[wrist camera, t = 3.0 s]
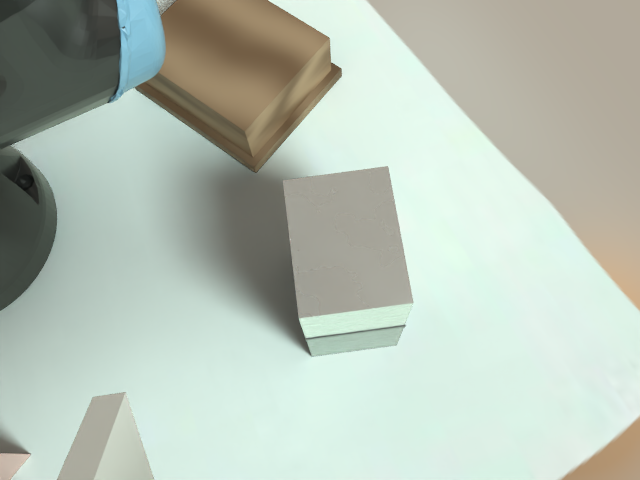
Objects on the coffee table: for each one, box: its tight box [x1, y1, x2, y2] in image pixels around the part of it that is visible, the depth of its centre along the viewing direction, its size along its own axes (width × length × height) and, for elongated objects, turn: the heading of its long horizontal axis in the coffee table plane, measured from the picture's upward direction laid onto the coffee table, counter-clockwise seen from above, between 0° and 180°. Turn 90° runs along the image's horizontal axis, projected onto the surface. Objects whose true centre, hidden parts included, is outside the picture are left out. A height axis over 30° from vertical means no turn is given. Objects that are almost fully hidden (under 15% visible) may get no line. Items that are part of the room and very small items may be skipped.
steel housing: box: [283, 166, 413, 357], centre depth 38 cm, size 6×8×12 cm
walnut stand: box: [135, 0, 342, 173], centre depth 49 cm, size 11×13×5 cm
